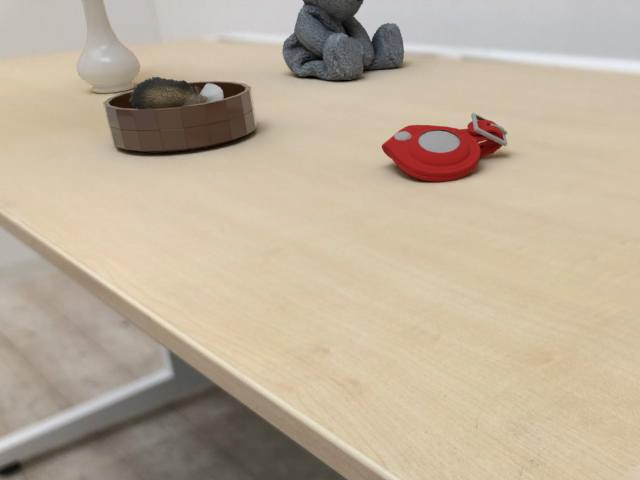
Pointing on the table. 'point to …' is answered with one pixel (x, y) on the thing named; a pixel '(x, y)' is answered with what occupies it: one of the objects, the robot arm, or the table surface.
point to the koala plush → (339, 42)
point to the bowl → (182, 121)
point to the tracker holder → (444, 148)
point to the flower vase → (105, 54)
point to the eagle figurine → (172, 94)
